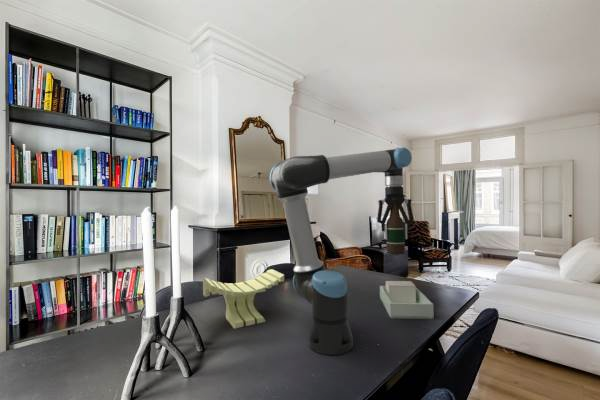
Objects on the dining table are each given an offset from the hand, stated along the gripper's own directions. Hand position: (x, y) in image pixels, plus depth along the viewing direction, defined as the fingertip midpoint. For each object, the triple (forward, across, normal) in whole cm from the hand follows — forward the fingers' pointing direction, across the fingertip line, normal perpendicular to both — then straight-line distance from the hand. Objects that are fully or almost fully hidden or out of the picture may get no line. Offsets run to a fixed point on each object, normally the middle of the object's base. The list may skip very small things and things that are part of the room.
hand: (395, 238), depth 127 cm
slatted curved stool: (+31, +65, +10) cm, 73 cm away
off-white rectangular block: (+31, -4, -13) cm, 34 cm away
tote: (+32, -4, -6) cm, 33 cm away
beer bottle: (+6, 0, 0) cm, 6 cm away
